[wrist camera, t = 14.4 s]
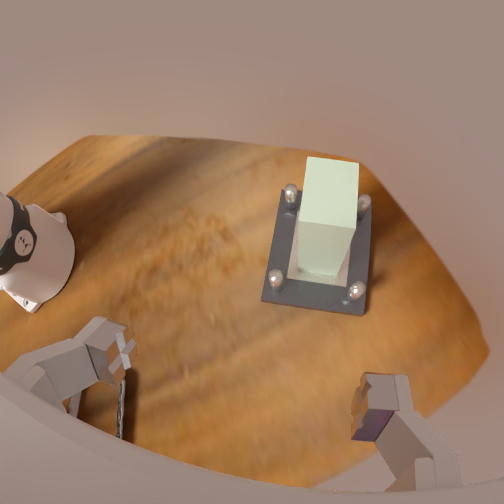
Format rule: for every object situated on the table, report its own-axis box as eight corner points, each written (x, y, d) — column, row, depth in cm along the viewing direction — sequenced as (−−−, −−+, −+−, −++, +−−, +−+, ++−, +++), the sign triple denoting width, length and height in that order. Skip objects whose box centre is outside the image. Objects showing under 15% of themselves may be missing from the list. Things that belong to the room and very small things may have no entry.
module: (297, 270, 40) (297, 220, 27) (304, 220, 42) (307, 156, 29) (336, 275, 39) (356, 228, 26) (342, 225, 41) (359, 163, 28)
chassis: (261, 301, 41) (257, 292, 36) (282, 193, 46) (280, 173, 41) (361, 316, 38) (371, 308, 33) (370, 205, 43) (377, 186, 38)
